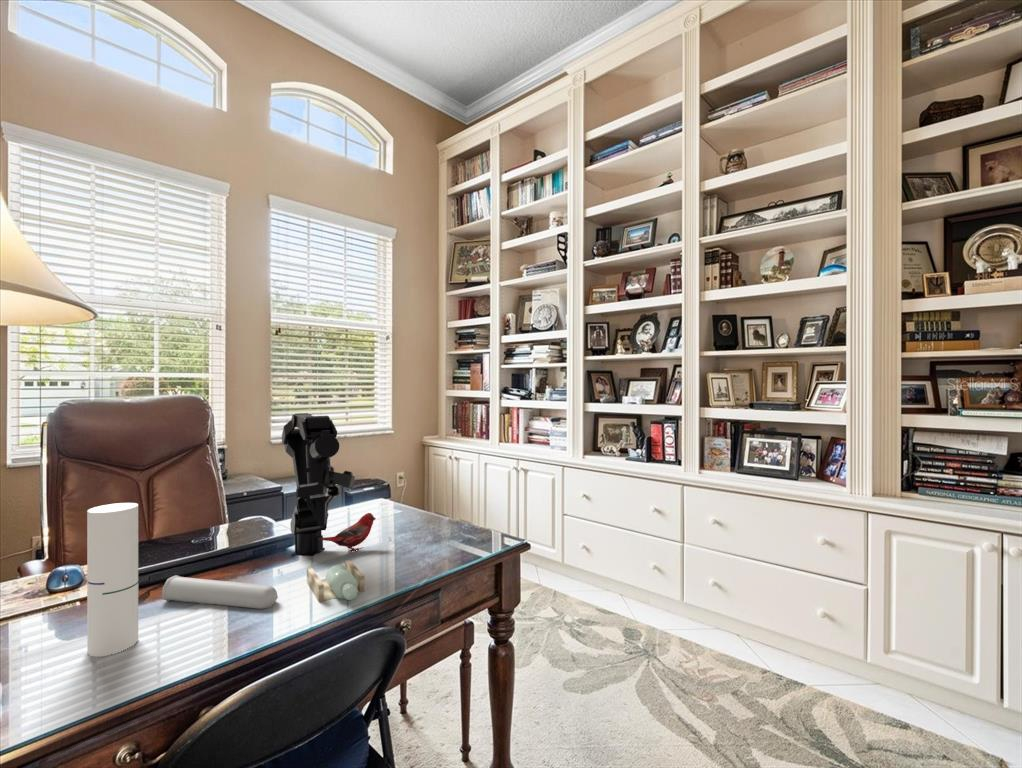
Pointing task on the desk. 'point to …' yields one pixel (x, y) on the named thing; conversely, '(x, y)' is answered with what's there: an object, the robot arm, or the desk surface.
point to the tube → (219, 592)
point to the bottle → (342, 582)
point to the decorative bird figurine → (353, 533)
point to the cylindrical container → (112, 578)
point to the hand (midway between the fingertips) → (322, 525)
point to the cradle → (323, 589)
